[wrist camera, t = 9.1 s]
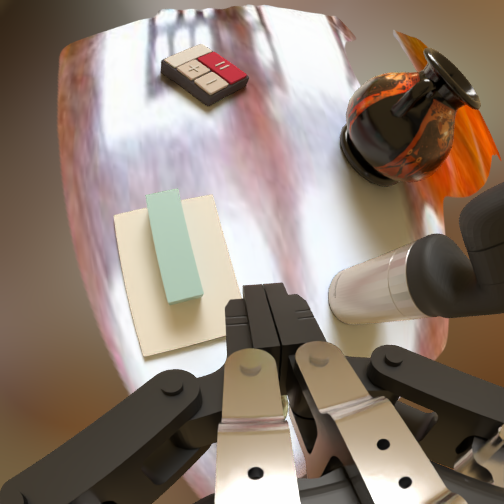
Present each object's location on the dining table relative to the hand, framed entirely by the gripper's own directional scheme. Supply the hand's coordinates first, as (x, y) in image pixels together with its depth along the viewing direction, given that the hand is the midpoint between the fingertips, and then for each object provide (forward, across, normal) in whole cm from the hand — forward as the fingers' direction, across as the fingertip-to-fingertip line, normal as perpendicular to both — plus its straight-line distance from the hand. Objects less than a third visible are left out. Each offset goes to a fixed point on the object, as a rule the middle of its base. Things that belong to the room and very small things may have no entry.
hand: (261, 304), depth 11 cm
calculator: (+50, +5, -20) cm, 54 cm away
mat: (+25, +8, +11) cm, 29 cm away
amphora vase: (+45, -30, -4) cm, 54 cm away
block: (+21, +7, +12) cm, 25 cm away
